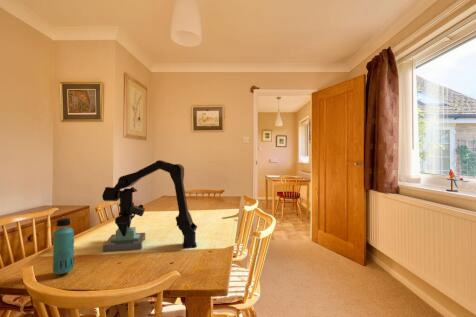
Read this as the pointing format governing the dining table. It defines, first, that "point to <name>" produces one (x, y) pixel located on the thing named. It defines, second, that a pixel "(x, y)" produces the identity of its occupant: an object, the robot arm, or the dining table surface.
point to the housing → (129, 235)
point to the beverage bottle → (63, 247)
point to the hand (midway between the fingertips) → (126, 233)
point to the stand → (123, 244)
